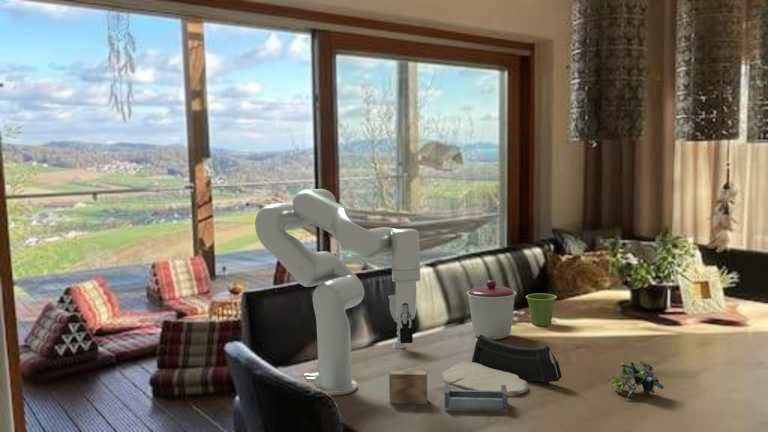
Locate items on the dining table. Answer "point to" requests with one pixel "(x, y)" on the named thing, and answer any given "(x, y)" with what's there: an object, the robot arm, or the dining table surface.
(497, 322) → the canister
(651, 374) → the green leafy plant
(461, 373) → the stone tablet
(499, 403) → the grey open holder
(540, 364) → the magazine
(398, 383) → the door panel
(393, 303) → the chalice
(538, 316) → the plant pot
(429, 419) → the dining table surface
